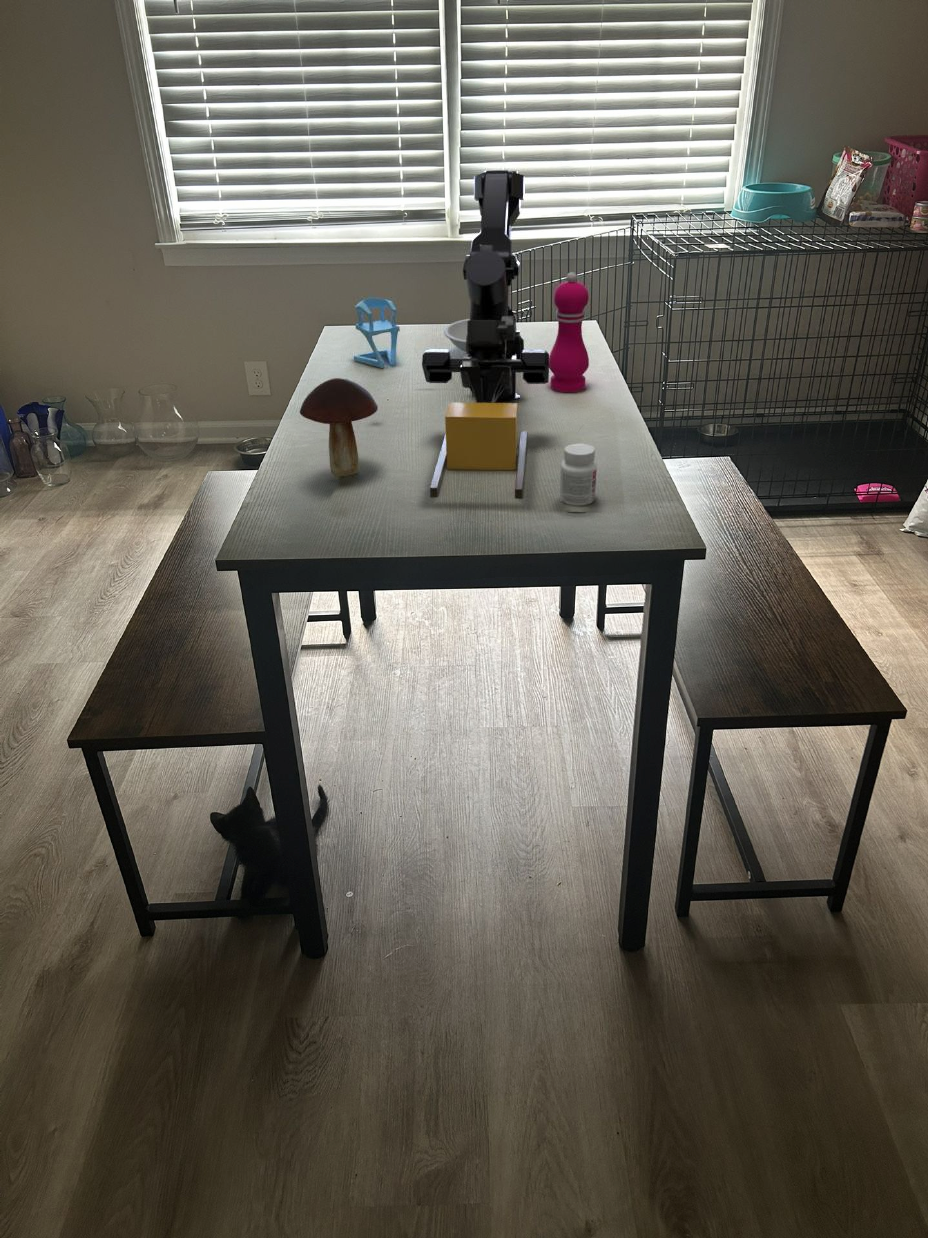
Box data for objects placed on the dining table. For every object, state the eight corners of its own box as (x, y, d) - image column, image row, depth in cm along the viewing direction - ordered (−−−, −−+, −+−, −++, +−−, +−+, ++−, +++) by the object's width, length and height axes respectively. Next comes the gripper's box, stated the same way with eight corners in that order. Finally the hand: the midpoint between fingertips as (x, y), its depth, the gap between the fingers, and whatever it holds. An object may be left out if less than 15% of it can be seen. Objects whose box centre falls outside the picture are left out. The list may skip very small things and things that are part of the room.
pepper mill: (561, 395, 168) (565, 278, 157) (540, 384, 173) (542, 270, 163) (595, 389, 170) (601, 273, 160) (573, 378, 176) (578, 265, 165)
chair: (371, 370, 183) (366, 306, 176) (353, 359, 189) (348, 298, 182) (406, 363, 186) (403, 301, 179) (388, 353, 192) (384, 292, 186)
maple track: (442, 446, 149) (442, 430, 147) (531, 447, 148) (532, 431, 146) (425, 505, 131) (424, 487, 129) (527, 507, 129) (527, 489, 128)
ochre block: (451, 453, 143) (449, 402, 138) (517, 454, 142) (517, 402, 138) (446, 469, 138) (445, 416, 133) (515, 470, 137) (515, 417, 133)
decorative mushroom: (394, 484, 137) (387, 383, 129) (322, 500, 133) (310, 396, 125) (366, 459, 145) (358, 362, 137) (297, 473, 141) (285, 374, 133)
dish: (448, 342, 198) (448, 317, 195) (517, 341, 197) (517, 317, 194) (440, 367, 183) (439, 342, 180) (515, 368, 182) (515, 341, 179)
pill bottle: (599, 512, 128) (602, 453, 123) (565, 516, 127) (567, 457, 122) (588, 497, 132) (590, 440, 127) (555, 501, 131) (556, 444, 126)
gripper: (420, 293, 136) (413, 393, 133) (550, 293, 135) (547, 394, 131) (429, 334, 147) (423, 427, 143) (550, 334, 145) (547, 428, 142)
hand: (483, 419), depth 140 cm, fingers closed, pressing on ochre block
